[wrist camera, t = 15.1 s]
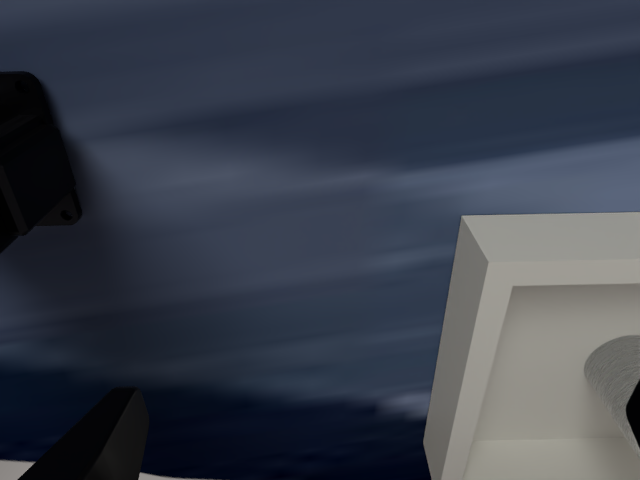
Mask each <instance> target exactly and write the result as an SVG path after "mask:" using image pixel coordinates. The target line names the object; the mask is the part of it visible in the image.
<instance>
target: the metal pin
mask: <svg viewBox="0 0 640 480" xmlns="http://www.w3.org/2000/svg"><path fill="white" fill-rule="evenodd" d="M584 374H585V376H586V378H587V380H588V381H589V383H590V384H591V386H592V387H593V389H594V390H595V392H596V393H597V395H598V396H599V398H600V399H601V401H602V403H603V404H604V406H605V407H606V409H607V410H608V412H609V413H610V415H611V416H612V418H613V419H614V421H615V422H616V424H617V426H618V427H619V429H620V430H621V432H622V433H623V435H624V436H625V438H626V439H627V441H628V442H629V444H630V445H631V447H632V449H633V450H634V452H635V453H636V455H637V456H638V458H639V459H640V448H639V446H638V444H637V441H636V439H635V437H634V434H633V432H632V429H631V427H630V425H629V422H628V420H627V416H626V404H627V402H628V400H629V398H630V396H631V394H632V392H633V390H634V388H635V386H636V384H637V383H638V381H639V379H640V335H628V336H622V337H618V338H615V339H613V340H610V341H608V342H606V343H604V344H602V345H601V346H599V347H598V348H597V349H595V350H594V351H593V352H592V353H591V354H590V356H589V357H588V358H587V360H586V362H585V365H584Z"/></svg>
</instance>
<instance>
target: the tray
mask: <svg viewBox="0 0 640 480" xmlns="http://www.w3.org/2000/svg"><path fill="white" fill-rule="evenodd" d="M628 335H640V212H622V213H572V214H522V215H472V216H462V217H461V223H460V228H459V234H458V240H457V246H456V252H455V258H454V264H453V270H452V276H451V281H450V287H449V293H448V299H447V305H446V311H445V317H444V323H443V329H442V334H441V340H440V346H439V352H438V358H437V364H436V370H435V376H434V381H433V387H432V393H431V399H430V405H429V411H428V417H427V423H426V429H425V434H424V440H423V444H424V448H425V453H426V457H427V461H428V466H429V470H430V474H431V479H432V480H640V459H639V458H638V456H637V455H636V453H635V452H634V450H633V449H632V447H631V445H630V444H629V442H628V441H627V439H626V438H625V436H624V435H623V433H622V432H621V430H620V429H619V427H618V426H617V424H616V422H615V421H614V419H613V418H612V416H611V415H610V413H609V412H608V410H607V409H606V407H605V406H604V404H603V403H602V401H601V399H600V398H599V396H598V395H597V393H596V392H595V390H594V389H593V387H592V386H591V384H590V383H589V381H588V380H587V378H586V376H585V374H584V365H585V362H586V360H587V358H588V357H589V356H590V354H591V353H592V352H593V351H594V350H595V349H597V348H598V347H599V346H601V345H602V344H604V343H606V342H608V341H610V340H613V339H615V338H618V337H622V336H628Z"/></svg>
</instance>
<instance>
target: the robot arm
mask: <svg viewBox="0 0 640 480" xmlns="http://www.w3.org/2000/svg"><path fill="white" fill-rule="evenodd" d="M21 81H24V82H25V83H26V84H27V85H28V87H29V91H26V90H24V89H23V88H22V86H21ZM75 185H76V182H75V179H74V176H73V173H72V170H71V167H70V164H69V161H68V157H67V154H66V151H65V148H64V145H63V142H62V139H61V136H60V133H59V130H58V129H57V128H56V127H55V126H54V124H53V121H52V118H51V115H50V112H49V109H48V106H47V103H46V100H45V97H44V93H43V90H42V87H41V84H40V82H39V81H38V79H37V78H36V77H35V76H34V75H32V74H31V73H29V72H24V71H14V72H0V254H1V253H2V252H3V251H4V250H5V249H6V248H7V247H8V246H9V245H10V244H11V243H12V242H13V241H14V240H15V239H16V238H17V237H18V236H24V235H26V234H27V233H28V232H30V231H31V230H32V229H33V228H34V227H35V226H52V225H73V224H75V223H76V222H77V221H78V220H79V219H80V218H81V216H82V210H81V207H80V204H79V201H78V198H77V195H76V192H75V189H74V187H75ZM65 210H67V211H69V212H70V213H71V214H72V216H69V215H68V214H66V212H65ZM626 416H627V420H628V422H629V425H630V427H631V429H632V432H633V434H634V437H635V439H636V441H637V444H638V446H639V448H640V379H639V381H638V383H637V384H636V386H635V388H634V390H633V392H632V394H631V396H630V398H629V400H628V402H627V404H626ZM148 429H149V415H148V412H147V409H146V406H145V402H144V399H143V396H142V393H141V391H140V389H139V388H138V387H135V386H129V387H116V388H114V389H112V390H111V391H110V392H109V393H107V394H106V395H105V396H104V397H103V398H102V399H101V400H100V401H99V402H98V403H97V404H96V405H95V406H94V407H93V408H92V409H91V410H90V411H89V412H88V413H87V414H86V415H85V416H83V417H82V418H81V419H80V420H79V421H78V422H77V423H76V424H75V425H74V426H73V427H72V428H71V429H70V430H69V431H68V432H67V433H66V434H65V435H64V436H63V437H62V438H61V439H59V440H58V441H57V442H56V443H55V444H54V445H53V446H52V447H51V448H50V449H49V450H48V451H47V452H46V453H45V454H44V455H43V456H42V457H41V458H40V459H39V460H38V461H37V462H36V463H34V464H33V465H32V466H31V467H30V468H29V469H28V470H27V471H26V472H25V473H24V474H23V475H22V476H21V477H20V478H19V479H18V480H138V478H139V473H140V468H141V464H142V459H143V454H144V449H145V444H146V439H147V434H148Z"/></svg>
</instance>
